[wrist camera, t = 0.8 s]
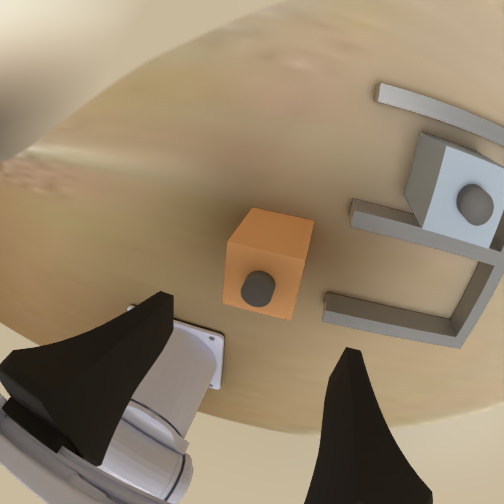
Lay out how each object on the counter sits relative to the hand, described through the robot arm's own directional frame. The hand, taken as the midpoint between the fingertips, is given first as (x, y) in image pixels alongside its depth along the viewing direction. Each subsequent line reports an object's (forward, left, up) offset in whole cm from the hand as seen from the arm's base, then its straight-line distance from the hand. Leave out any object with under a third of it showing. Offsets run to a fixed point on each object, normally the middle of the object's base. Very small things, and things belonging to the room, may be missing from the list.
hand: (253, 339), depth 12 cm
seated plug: (+8, +6, -10) cm, 14 cm away
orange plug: (-1, -1, -10) cm, 10 cm away
